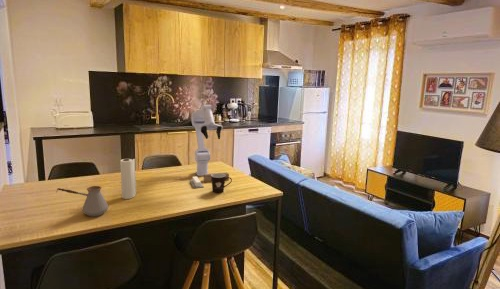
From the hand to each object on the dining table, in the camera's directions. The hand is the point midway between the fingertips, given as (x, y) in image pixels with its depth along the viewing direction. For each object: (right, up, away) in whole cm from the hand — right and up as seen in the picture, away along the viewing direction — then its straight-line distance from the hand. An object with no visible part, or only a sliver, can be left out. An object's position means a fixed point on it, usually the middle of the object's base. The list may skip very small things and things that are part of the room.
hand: (213, 138), depth 196 cm
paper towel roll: (-45, -33, -15) cm, 58 cm away
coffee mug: (+4, -32, -2) cm, 32 cm away
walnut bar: (0, -28, +20) cm, 34 cm away
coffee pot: (-57, -38, -40) cm, 79 cm away
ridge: (-12, -29, +10) cm, 33 cm away
